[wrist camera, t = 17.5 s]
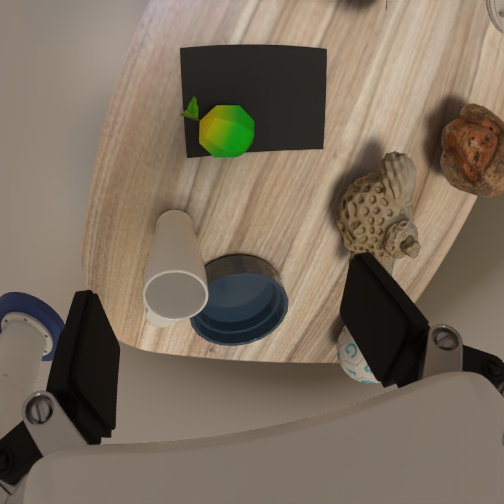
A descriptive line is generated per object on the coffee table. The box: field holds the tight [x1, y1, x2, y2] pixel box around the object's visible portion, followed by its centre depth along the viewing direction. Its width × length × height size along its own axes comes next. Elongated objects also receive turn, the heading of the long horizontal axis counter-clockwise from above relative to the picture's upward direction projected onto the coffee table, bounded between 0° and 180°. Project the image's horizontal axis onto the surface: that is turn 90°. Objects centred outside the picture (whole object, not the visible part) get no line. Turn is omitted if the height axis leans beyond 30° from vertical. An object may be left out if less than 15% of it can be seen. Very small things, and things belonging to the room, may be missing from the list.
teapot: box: [336, 151, 421, 276], centre depth 40 cm, size 21×12×15 cm, turn 173°
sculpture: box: [440, 104, 504, 197], centre depth 36 cm, size 15×16×15 cm
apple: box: [181, 96, 254, 158], centre depth 33 cm, size 7×6×9 cm
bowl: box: [190, 255, 288, 346], centre depth 49 cm, size 15×15×5 cm
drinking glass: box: [143, 210, 208, 320], centre depth 36 cm, size 7×7×15 cm
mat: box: [180, 45, 327, 158], centre depth 34 cm, size 18×14×1 cm
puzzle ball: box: [337, 326, 379, 384], centre depth 57 cm, size 15×15×15 cm
